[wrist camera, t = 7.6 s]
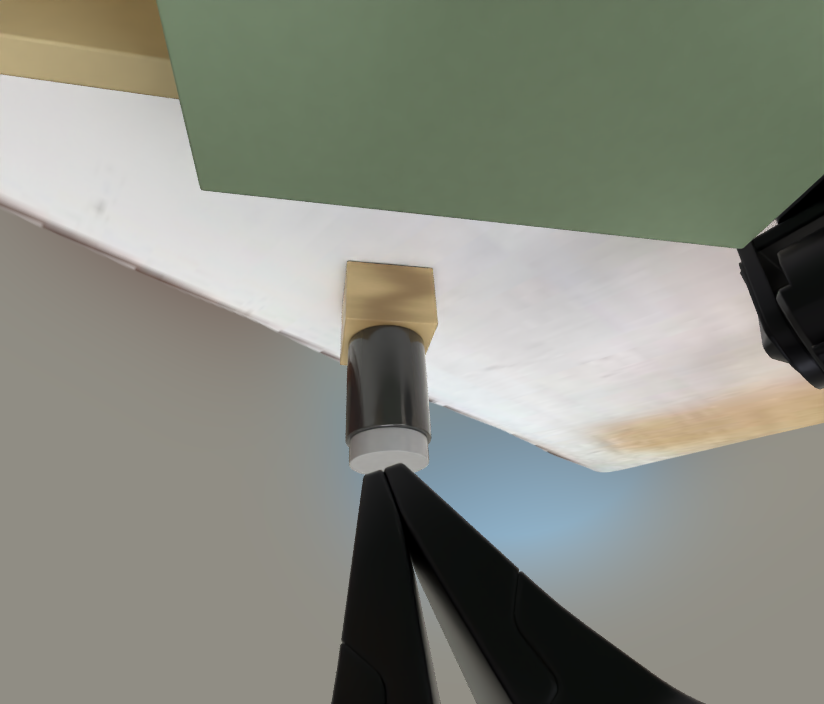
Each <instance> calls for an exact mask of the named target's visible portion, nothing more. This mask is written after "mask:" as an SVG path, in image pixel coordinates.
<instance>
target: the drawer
mask: <svg viewBox="0 0 824 704" xmlns="http://www.w3.org/2000/svg"><path fill="white" fill-rule="evenodd" d="M0 74H3V75H10V76H17V77H24V78H31V79H38V80H46V81H53V82H60V83H67V84H74V85H81V86H88V87H95V88H102V89H110V90H117V91H124V92H131V93H138V94H145V95H152V96H159V97H166V98H174V99H179V96H178V92H177V88H176V83H175V79H174V75H173V71H172V67H171V62H170V58H169V54H168V50H167V45H166V41H165V37H164V33H163V28H162V24H161V20H160V16H159V11H158V7H157V3H156V0H0Z"/></svg>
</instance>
